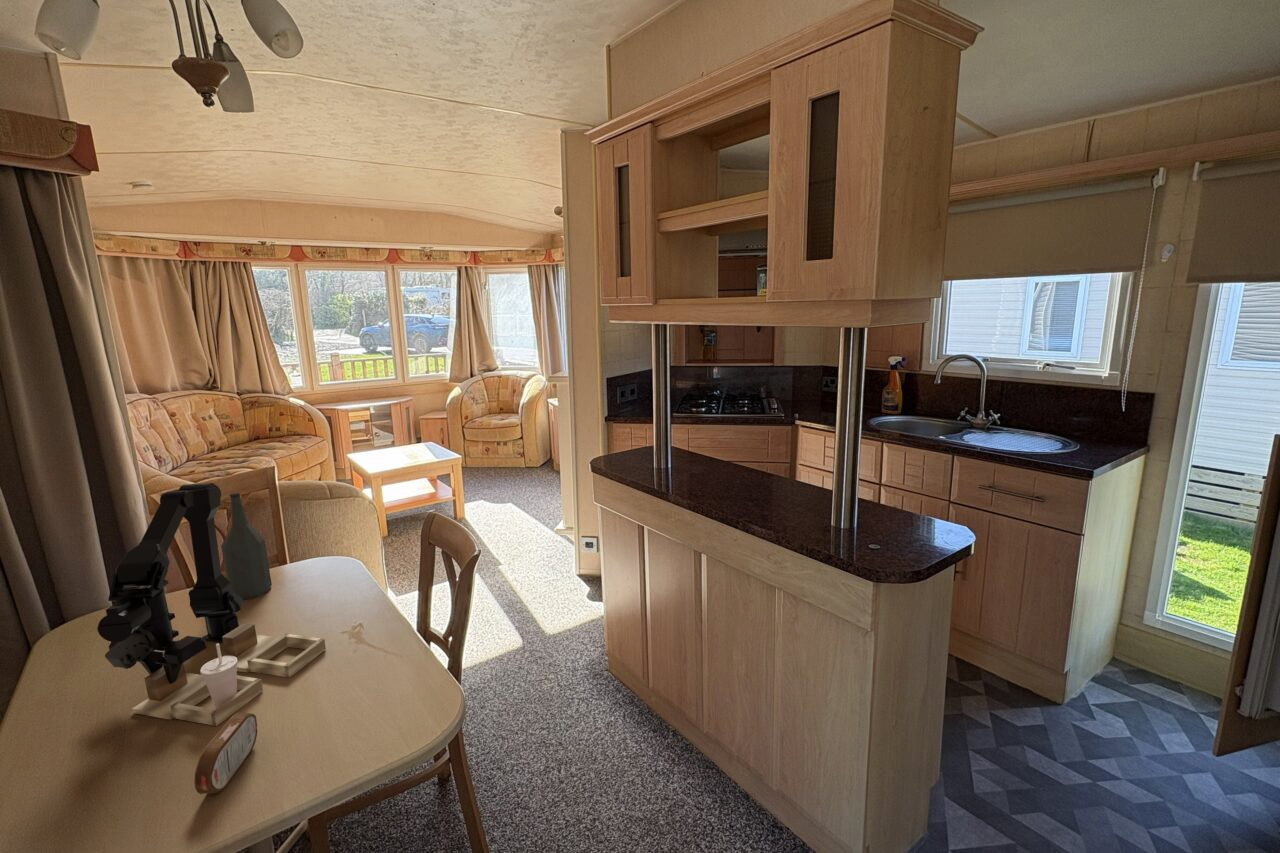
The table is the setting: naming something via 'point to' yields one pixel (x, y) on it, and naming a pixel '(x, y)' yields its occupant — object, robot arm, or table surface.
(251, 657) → the hollow rectangular frame
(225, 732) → the tin
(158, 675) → the cream rimmed tray
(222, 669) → the smoothie
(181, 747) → the table surface
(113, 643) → the robot arm
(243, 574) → the bottle
